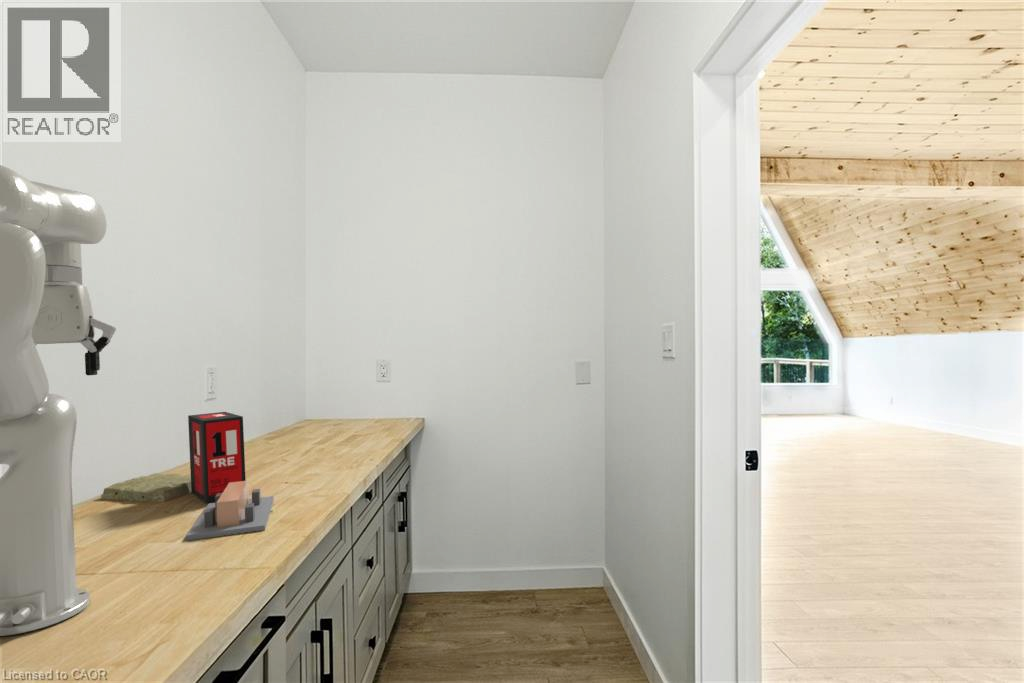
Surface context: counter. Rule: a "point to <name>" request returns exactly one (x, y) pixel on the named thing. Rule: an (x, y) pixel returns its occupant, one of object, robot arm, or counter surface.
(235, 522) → the clay strip
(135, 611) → the counter surface
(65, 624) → the counter surface
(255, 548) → the counter surface
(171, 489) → the decorative tile
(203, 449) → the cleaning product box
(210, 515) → the grey plate with pegs
